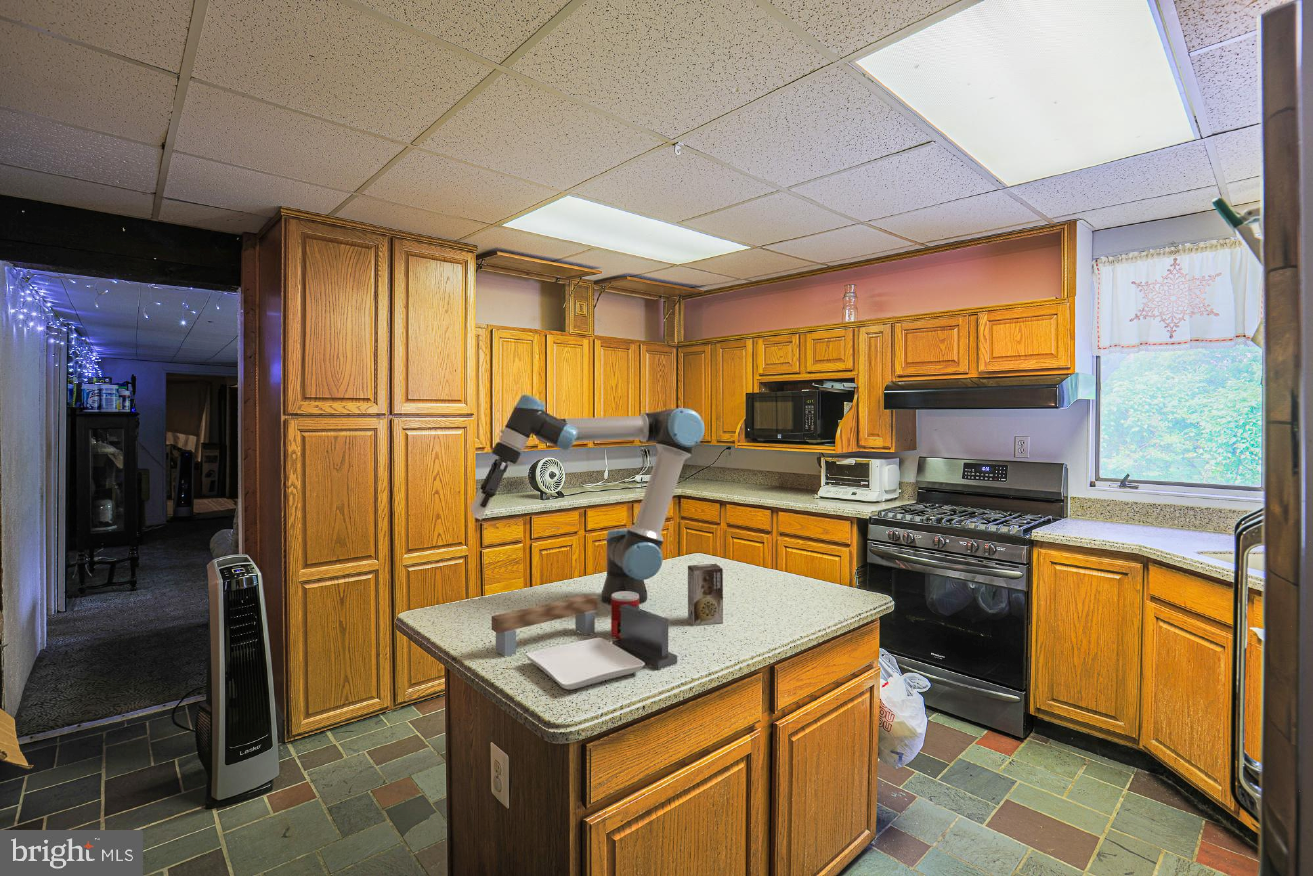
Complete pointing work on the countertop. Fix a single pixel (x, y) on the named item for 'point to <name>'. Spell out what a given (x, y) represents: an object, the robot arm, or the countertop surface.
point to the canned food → (616, 603)
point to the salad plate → (584, 662)
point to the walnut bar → (543, 613)
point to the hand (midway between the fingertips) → (474, 514)
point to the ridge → (645, 637)
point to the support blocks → (508, 639)
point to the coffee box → (705, 594)
